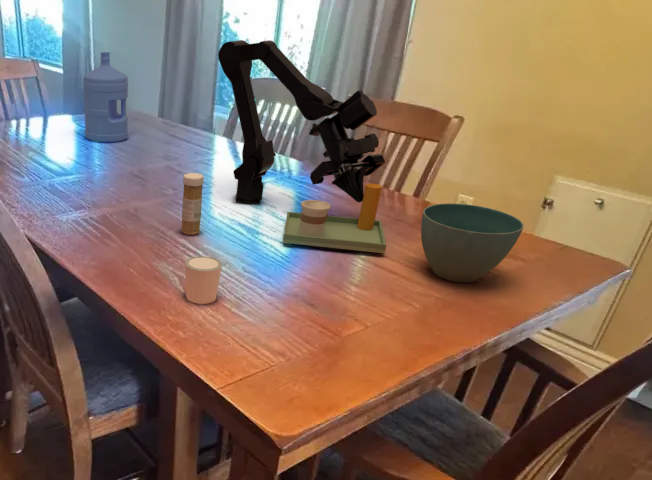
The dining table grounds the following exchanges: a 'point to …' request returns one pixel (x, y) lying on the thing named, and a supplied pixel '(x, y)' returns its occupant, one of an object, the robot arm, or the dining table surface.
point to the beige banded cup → (313, 218)
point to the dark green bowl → (466, 239)
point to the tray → (345, 228)
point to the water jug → (105, 103)
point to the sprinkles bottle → (192, 203)
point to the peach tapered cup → (202, 279)
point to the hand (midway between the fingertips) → (360, 201)
